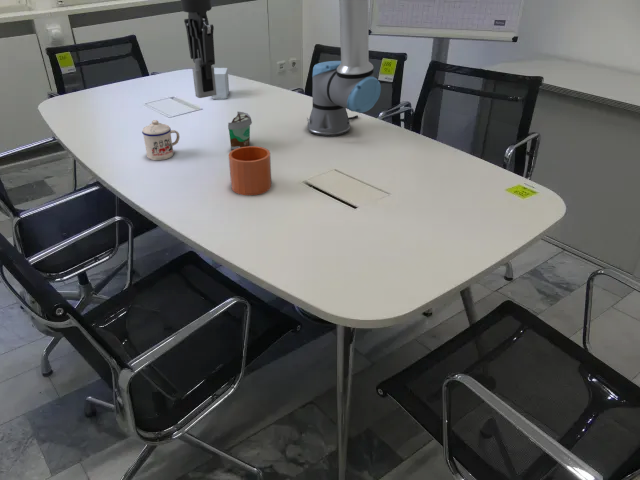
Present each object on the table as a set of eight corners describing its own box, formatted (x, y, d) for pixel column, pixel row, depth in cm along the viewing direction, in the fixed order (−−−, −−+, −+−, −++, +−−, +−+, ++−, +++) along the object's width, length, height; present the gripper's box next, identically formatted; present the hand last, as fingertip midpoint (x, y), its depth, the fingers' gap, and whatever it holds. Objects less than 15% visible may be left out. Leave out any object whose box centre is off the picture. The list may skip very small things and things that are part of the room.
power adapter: (194, 95, 147) (189, 49, 140) (212, 92, 149) (208, 46, 142) (199, 98, 145) (193, 51, 138) (217, 94, 147) (213, 48, 140)
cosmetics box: (227, 99, 227) (225, 73, 221) (212, 99, 227) (210, 73, 221) (229, 92, 235) (227, 67, 230) (215, 92, 236) (212, 67, 230)
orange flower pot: (259, 174, 162) (257, 143, 156) (278, 188, 154) (277, 155, 148) (224, 184, 157) (221, 151, 151) (243, 199, 149) (240, 165, 143)
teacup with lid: (152, 163, 172) (146, 127, 165) (142, 154, 178) (136, 120, 171) (187, 154, 177) (182, 119, 170) (175, 146, 183) (170, 112, 177)
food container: (248, 153, 176) (246, 124, 170) (230, 152, 177) (227, 123, 171) (256, 140, 186) (255, 111, 180) (239, 139, 187) (237, 111, 181)
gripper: (169, -9, 137) (181, 85, 150) (194, -2, 125) (205, 99, 139) (196, -12, 140) (206, 80, 153) (223, -5, 128) (231, 93, 142)
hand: (205, 89), depth 146 cm, fingers closed on power adapter, 3 cm apart
